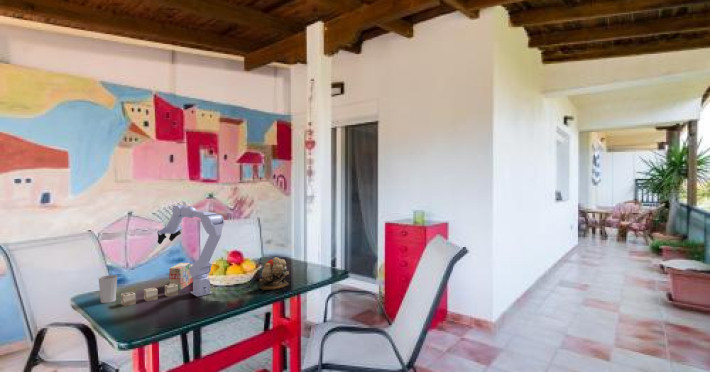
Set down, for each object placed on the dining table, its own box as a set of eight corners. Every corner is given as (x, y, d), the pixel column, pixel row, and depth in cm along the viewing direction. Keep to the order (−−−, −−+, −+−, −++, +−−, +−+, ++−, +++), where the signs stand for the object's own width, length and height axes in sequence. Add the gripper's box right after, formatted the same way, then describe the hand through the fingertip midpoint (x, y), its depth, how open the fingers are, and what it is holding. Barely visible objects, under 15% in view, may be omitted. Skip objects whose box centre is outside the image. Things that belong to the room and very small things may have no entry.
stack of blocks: (187, 279, 226) (187, 259, 226) (197, 279, 226) (197, 259, 226) (169, 289, 205) (169, 267, 204) (180, 290, 205) (180, 267, 204)
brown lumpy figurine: (282, 281, 221) (283, 253, 221) (294, 286, 213) (294, 256, 212) (255, 287, 209) (255, 257, 208) (266, 292, 200) (266, 261, 200)
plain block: (157, 299, 189) (157, 289, 189) (146, 301, 186) (146, 291, 185) (154, 297, 193) (154, 287, 192) (143, 299, 189) (143, 289, 189)
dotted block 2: (178, 294, 196) (178, 285, 196) (168, 297, 193) (168, 287, 192) (174, 292, 200) (174, 283, 200) (164, 294, 196) (164, 285, 196)
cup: (121, 299, 189) (121, 275, 188) (106, 304, 181) (106, 279, 181) (110, 297, 191) (109, 274, 191) (94, 302, 184) (94, 278, 184)
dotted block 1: (135, 304, 182) (135, 293, 182) (123, 306, 178) (123, 296, 178) (132, 301, 186) (132, 291, 185) (121, 303, 182) (121, 293, 182)
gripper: (180, 216, 215) (171, 234, 219) (158, 220, 201) (149, 239, 205) (187, 224, 213) (178, 242, 217) (166, 228, 200) (157, 247, 204)
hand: (164, 241), depth 211 cm, fingers open, 7 cm apart
